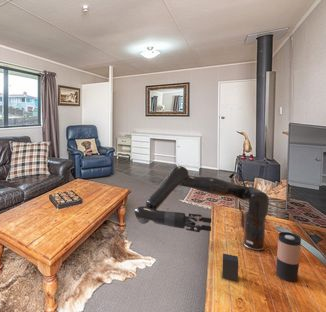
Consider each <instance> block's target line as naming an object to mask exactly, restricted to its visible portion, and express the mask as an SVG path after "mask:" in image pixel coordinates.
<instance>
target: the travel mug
mask: <svg viewBox="0 0 326 312" xmlns="http://www.w3.org/2000/svg"><path fill="white" fill-rule="evenodd" d="M277 239H278V240H277V250H276V251H277V253H276V275H277V277H278V278H280V279H281V280H284V281H286V282H291V283H292V282H293V283H295V282H296V281H297V280H298V274H299V269H300V268H299V267H300V259H301V258H300V257H301V244H302V237H301V236H300V235H299V234H296V233H293V232H290V231H289V232H288V231H281V232H279V233H278V238H277Z"/></svg>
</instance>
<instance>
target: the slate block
mask: <svg viewBox="0 0 326 312" xmlns="http://www.w3.org/2000/svg"><path fill="white" fill-rule="evenodd" d="M221 268H222V269H221V275H222V279H224V280H229V281H233V282H238V281H239V257H238V255H233V254H228V253H222V267H221Z"/></svg>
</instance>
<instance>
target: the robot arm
mask: <svg viewBox="0 0 326 312" xmlns="http://www.w3.org/2000/svg"><path fill="white" fill-rule="evenodd" d="M179 186H180V187H185V188H190V189H195V190H198V191H201V192H205V193H207V194H212V195H214V196H218V197H231V198H232V197H233V198H236V199H239V200H242V201H244V202H246V203H248V208H247V210H245V211H244V212H243V211H242V209H241V208H240V207H236V209H237V210H239V211H240V212H241V220H240V223H241V226H242V229H243V231H244V232H243V246H244V247H245V248H247V249H249V250H251V251H258V252H259V251H263V250H264V249H265V236H266V235H265V233H266V232H265V231H266V217H267V215H268V212H269V205H270V199H269V196H268V194H266V192H264V191H262V189H261V190H260V189H259V188H256V187H252V186H245V185H240V184H236V183H233V182H230V181H227V180H224V179H221V178H218V177H213V176H195V175H190V174H189V171H188V169H187V168H186V167H185V166H183V165H177V166H175V167H173V168H172V169H171V170H170V171H169V173H168V175H167V179H166V180H165V181H164V182H163V183H162V184H161V185H160V186H159V187H158V188H157V189H155V191H154V192H152V194H150V196H149V197H148V198H147V200H146V201H145V206H144V205H140V206H137V207H136V208H135V209H134V216H135V218H136V220H137V222H138V223H139V224H140V225H145V224H148V223H149V222H150V221H151V222H153V223H154V224H156V225H160V226H166V227H170V228H177V229H182V230H183V229H185V230H186V231H189V232H195V233H200V232H201V231H207V232H211V231H212V226H211V225H206V224H201V223H208V224H211V223H212V218H211V217H204V216H202V214H198V213H188V215H187V216H186V213H185V212H179V211H172V210H158V209H159V208H160V207H161V205H162V204H163V203H164V202H165V201H166V200H167V199H168V197H169V196H170V195H171V194H172V192H173V191H174V190H175V189H176V188H177V187H179ZM243 221H244V222H243Z"/></svg>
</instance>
